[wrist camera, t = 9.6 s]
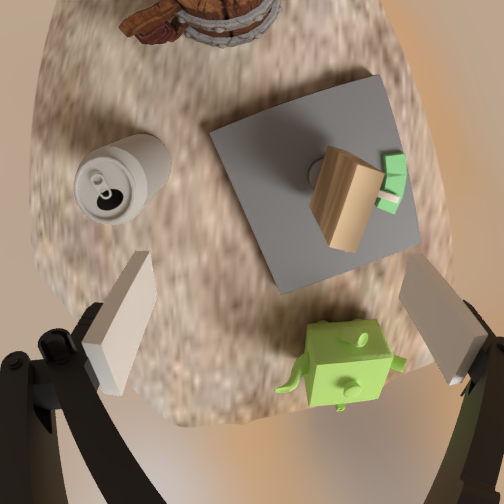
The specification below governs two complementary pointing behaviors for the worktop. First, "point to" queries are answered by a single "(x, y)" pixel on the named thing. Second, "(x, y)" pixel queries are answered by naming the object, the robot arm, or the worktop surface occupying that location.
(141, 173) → the can
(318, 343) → the kettle
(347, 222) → the peg key
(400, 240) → the board
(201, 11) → the mug
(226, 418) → the worktop surface
